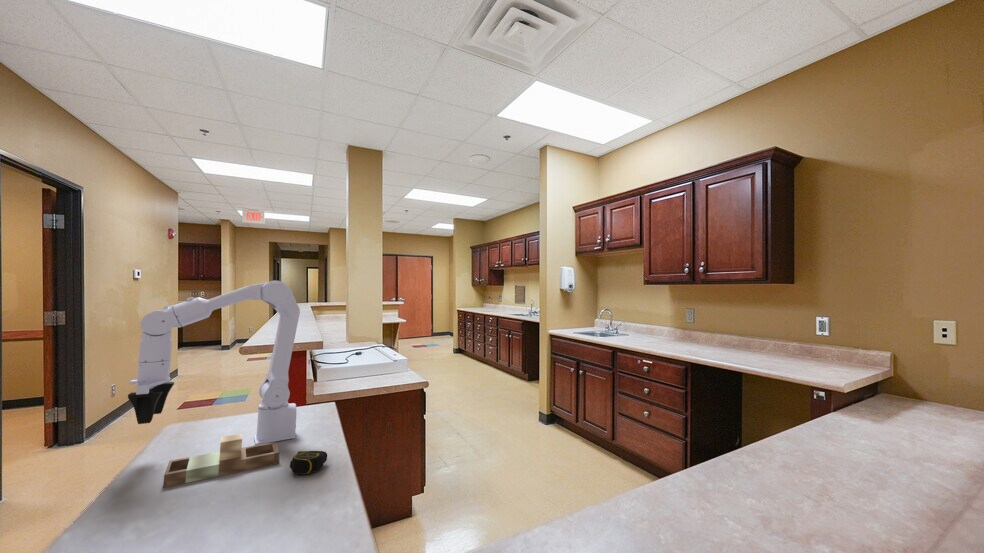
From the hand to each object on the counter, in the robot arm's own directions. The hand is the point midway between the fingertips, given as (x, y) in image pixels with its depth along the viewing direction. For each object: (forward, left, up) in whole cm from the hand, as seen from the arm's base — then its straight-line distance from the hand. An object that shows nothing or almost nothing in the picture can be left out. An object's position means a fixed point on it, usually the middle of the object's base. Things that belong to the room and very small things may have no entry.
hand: (150, 418), depth 86 cm
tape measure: (-30, +24, -10) cm, 40 cm away
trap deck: (-15, +14, -10) cm, 23 cm away
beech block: (-16, +14, -8) cm, 22 cm away
